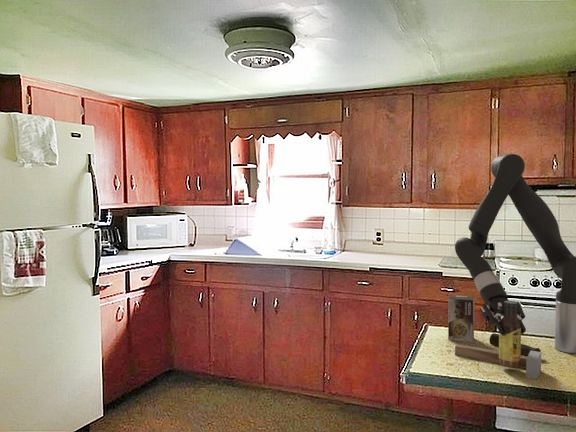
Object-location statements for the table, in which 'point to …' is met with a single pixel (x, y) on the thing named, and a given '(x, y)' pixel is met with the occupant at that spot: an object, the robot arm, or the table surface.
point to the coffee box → (461, 318)
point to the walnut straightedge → (483, 354)
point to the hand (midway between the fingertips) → (514, 333)
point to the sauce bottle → (510, 336)
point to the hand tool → (524, 348)
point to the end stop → (533, 365)
